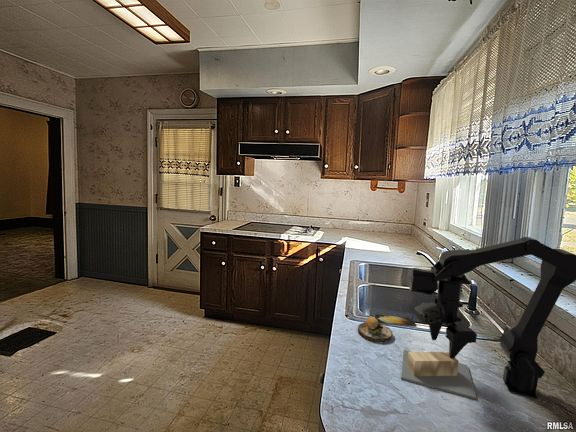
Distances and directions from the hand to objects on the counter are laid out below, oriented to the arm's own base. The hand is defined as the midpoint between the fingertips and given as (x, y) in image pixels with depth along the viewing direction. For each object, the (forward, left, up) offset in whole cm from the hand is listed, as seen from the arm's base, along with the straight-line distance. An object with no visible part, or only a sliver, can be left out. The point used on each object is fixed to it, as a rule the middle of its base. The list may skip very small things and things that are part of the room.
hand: (442, 348), depth 89 cm
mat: (+1, 0, -8) cm, 8 cm away
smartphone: (+14, -29, -8) cm, 33 cm away
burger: (+20, -15, -8) cm, 26 cm away
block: (-3, -2, -5) cm, 6 cm away
